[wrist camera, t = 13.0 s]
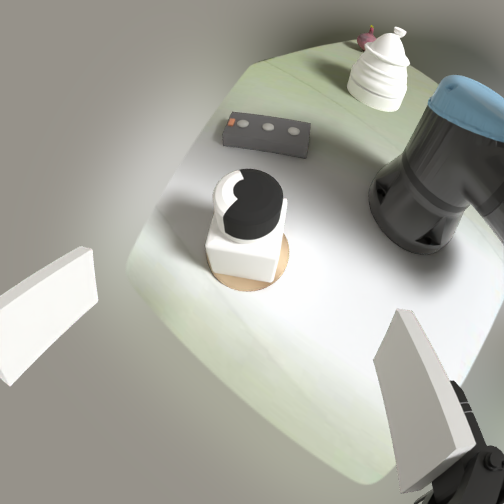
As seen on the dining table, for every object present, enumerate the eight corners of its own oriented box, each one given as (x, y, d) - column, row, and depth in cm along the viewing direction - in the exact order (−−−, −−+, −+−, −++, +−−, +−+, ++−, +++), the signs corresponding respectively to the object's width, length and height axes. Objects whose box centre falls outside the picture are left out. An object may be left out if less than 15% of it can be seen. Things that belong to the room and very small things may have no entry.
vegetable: (378, 55, 63) (385, 29, 53) (367, 57, 61) (375, 29, 52) (362, 46, 64) (368, 21, 55) (351, 48, 63) (357, 21, 54)
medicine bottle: (281, 230, 35) (294, 165, 24) (272, 284, 32) (285, 234, 21) (225, 221, 36) (217, 154, 25) (212, 273, 33) (194, 219, 22)
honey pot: (370, 77, 55) (388, 18, 39) (409, 107, 51) (435, 46, 34) (335, 83, 52) (350, 15, 36) (377, 116, 48) (404, 43, 31)
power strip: (308, 134, 44) (310, 121, 41) (305, 158, 41) (308, 145, 39) (232, 122, 45) (232, 110, 42) (223, 145, 42) (222, 132, 40)
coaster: (253, 204, 38) (253, 201, 37) (305, 258, 34) (306, 256, 34) (191, 246, 35) (190, 244, 34) (240, 308, 32) (240, 307, 31)
